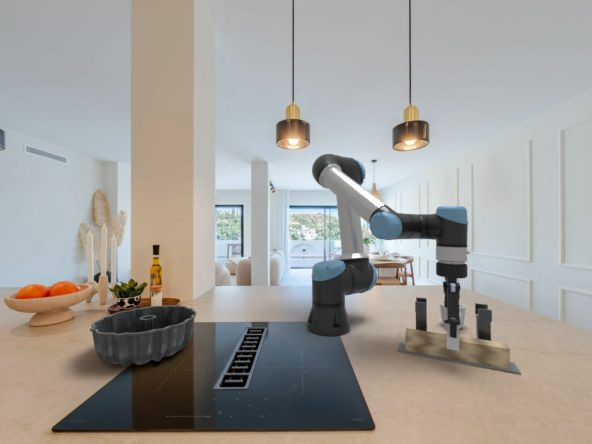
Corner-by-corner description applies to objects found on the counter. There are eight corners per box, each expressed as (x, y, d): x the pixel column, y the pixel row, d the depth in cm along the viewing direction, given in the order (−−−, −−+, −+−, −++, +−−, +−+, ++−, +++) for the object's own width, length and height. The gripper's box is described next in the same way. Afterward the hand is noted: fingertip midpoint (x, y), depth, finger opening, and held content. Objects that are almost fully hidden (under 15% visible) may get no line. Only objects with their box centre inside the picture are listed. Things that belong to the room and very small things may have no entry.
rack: (410, 345, 82) (409, 301, 82) (411, 336, 88) (411, 296, 89) (499, 360, 72) (498, 311, 73) (494, 350, 79) (493, 305, 79)
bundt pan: (106, 340, 85) (107, 308, 85) (195, 330, 94) (196, 301, 95) (70, 386, 60) (72, 340, 61) (196, 365, 70) (197, 326, 70)
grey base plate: (397, 351, 78) (397, 349, 78) (399, 344, 83) (399, 342, 83) (521, 374, 65) (520, 372, 65) (514, 364, 70) (514, 362, 70)
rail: (405, 350, 78) (405, 332, 78) (406, 345, 81) (406, 328, 81) (510, 369, 67) (509, 349, 67) (506, 362, 70) (505, 343, 71)
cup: (473, 334, 90) (472, 310, 91) (447, 333, 92) (446, 309, 92) (460, 323, 101) (460, 302, 101) (437, 322, 102) (437, 301, 103)
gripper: (473, 269, 62) (473, 362, 62) (462, 258, 84) (462, 326, 84) (436, 266, 65) (436, 355, 65) (435, 256, 88) (435, 322, 87)
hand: (451, 339), depth 75 cm, fingers open, 13 cm apart
